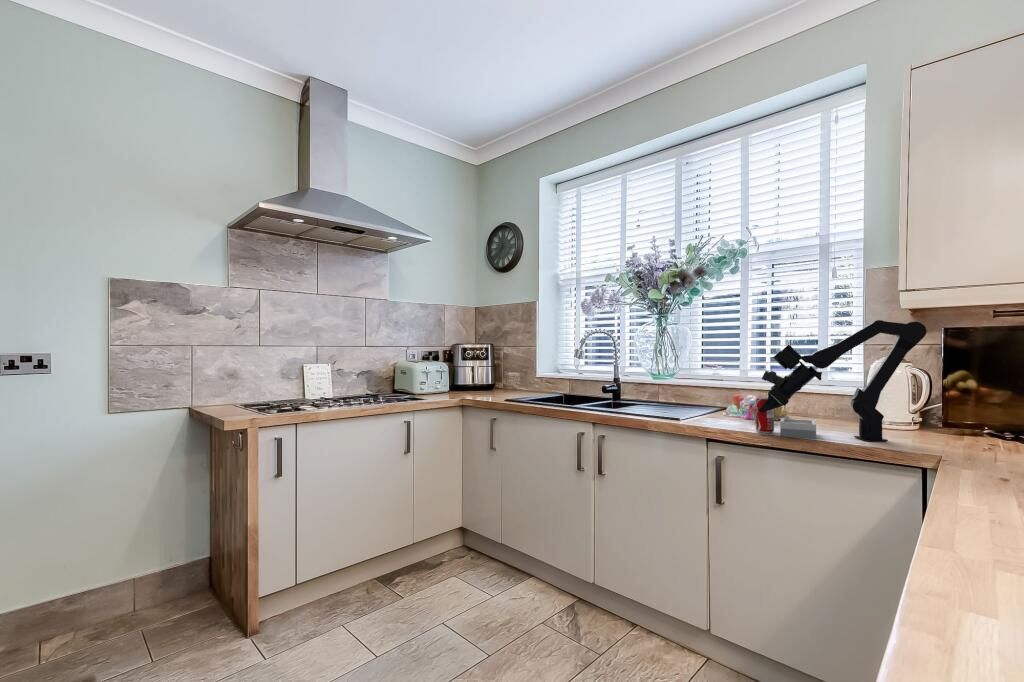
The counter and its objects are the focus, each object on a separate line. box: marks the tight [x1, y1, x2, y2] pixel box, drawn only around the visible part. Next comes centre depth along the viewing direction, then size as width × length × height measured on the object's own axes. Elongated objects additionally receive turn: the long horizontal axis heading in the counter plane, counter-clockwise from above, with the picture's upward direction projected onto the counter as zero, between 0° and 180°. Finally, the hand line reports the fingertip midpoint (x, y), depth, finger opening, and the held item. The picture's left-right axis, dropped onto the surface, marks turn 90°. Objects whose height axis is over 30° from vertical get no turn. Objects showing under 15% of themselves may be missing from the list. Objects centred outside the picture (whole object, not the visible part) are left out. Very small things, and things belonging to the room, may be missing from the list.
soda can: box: [755, 396, 775, 434], centre depth 170 cm, size 6×6×12 cm
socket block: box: [779, 418, 817, 440], centre depth 164 cm, size 10×10×4 cm
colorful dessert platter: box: [722, 393, 789, 421], centre depth 207 cm, size 25×24×9 cm
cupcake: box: [750, 391, 775, 422], centre depth 189 cm, size 9×8×12 cm
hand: (760, 410), depth 171 cm, fingers closed on soda can, 6 cm apart
